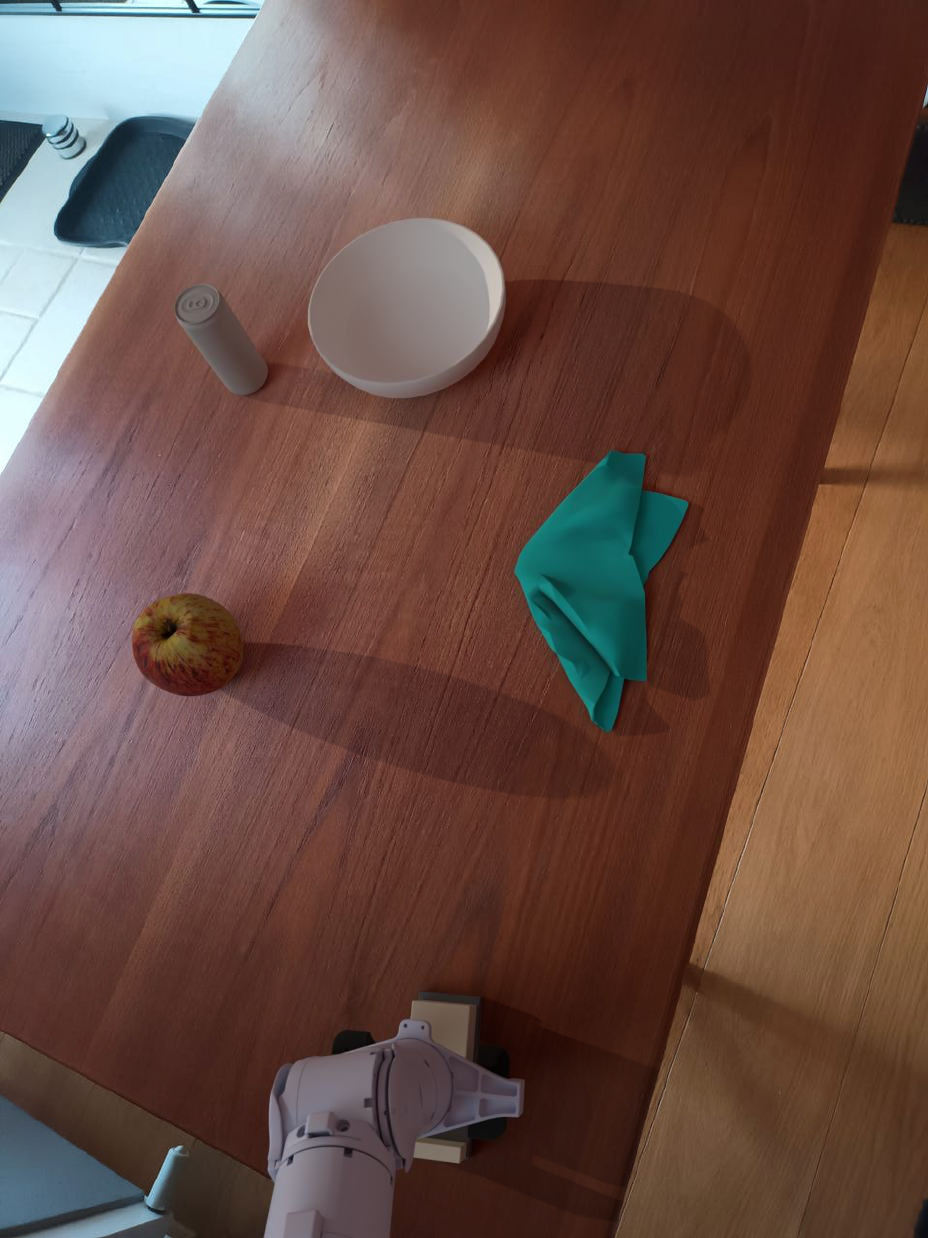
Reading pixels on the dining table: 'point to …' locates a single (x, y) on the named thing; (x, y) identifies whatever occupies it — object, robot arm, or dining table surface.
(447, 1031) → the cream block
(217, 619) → the apple
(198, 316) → the beverage can
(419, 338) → the bowl
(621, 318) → the dining table surface
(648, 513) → the cloth
